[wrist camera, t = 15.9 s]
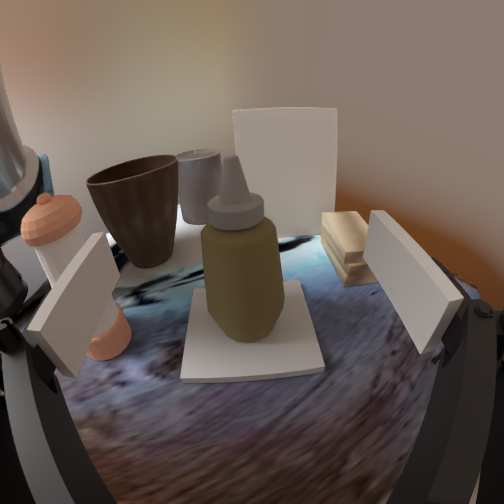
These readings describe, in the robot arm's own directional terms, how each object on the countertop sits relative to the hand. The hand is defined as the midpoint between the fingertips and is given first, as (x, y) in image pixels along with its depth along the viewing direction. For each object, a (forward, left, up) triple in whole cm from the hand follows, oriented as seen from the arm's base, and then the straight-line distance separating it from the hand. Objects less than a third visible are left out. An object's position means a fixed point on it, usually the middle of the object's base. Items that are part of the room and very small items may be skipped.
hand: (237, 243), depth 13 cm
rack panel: (+8, +31, -17) cm, 36 cm away
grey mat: (0, +10, -17) cm, 20 cm away
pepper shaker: (-18, +9, -17) cm, 27 cm away
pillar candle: (-8, +43, -17) cm, 47 cm away
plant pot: (-16, +28, -17) cm, 37 cm away
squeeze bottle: (0, +10, -16) cm, 19 cm away
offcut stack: (+16, +22, -17) cm, 32 cm away
